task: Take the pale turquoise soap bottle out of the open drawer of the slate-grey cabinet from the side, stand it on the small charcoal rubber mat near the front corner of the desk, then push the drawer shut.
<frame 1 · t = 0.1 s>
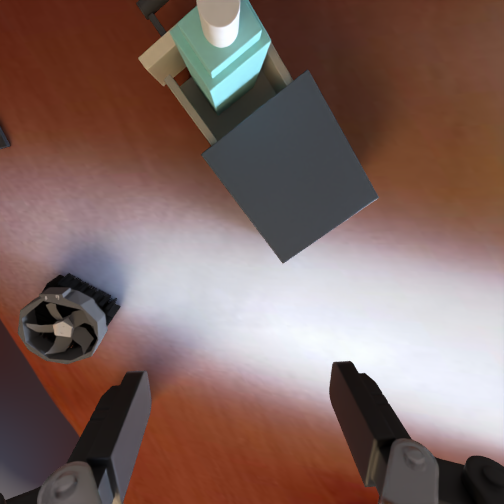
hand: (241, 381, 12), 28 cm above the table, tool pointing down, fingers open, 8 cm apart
soap bottle: (224, 84, 32), point 2 cm above the table, touching drawer
cpu cooler: (81, 308, 42), on the table
drawer: (221, 74, 29), point 4 cm above the table, slide at 8.5 cm, touching soap bottle
cabinet: (280, 171, 37), on the table
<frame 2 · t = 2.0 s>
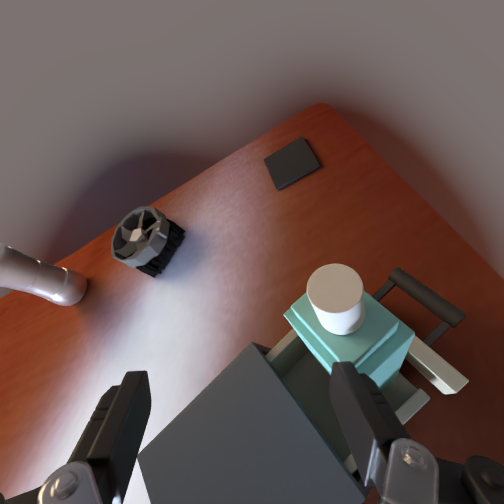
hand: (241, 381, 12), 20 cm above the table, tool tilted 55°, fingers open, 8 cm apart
soap bottle: (355, 370, 26), point 2 cm above the table, tilted 8°, touching drawer, gripper
mat: (290, 164, 44), on the table
cpu cooler: (159, 247, 49), on the table
drawer: (355, 364, 24), point 4 cm above the table, slide at 8.6 cm, touching soap bottle
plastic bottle: (81, 291, 54), on the table
cabinet: (273, 455, 28), on the table
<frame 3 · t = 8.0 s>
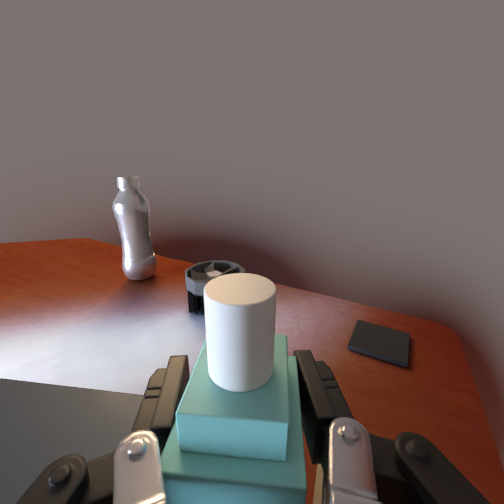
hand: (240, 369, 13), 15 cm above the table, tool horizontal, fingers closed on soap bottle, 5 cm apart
mat: (379, 342, 38), on the table
cpu cooler: (216, 301, 49), on the table
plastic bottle: (141, 278, 58), on the table
when the fingers open (14 cm above the table, at t = 18.2 s): soap bottle stays where it is, resting on mat.
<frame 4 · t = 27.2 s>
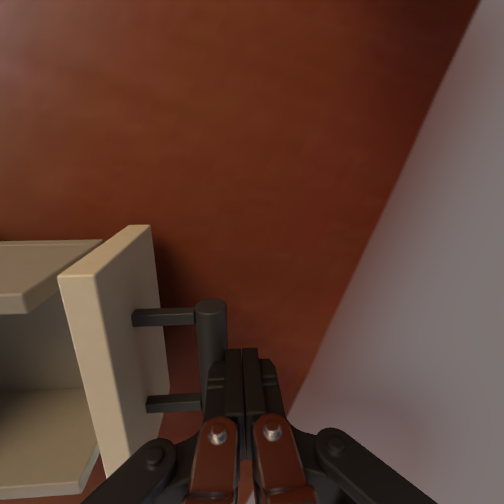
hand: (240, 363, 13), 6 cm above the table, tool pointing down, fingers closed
drawer: (47, 356, 14), point 4 cm above the table, slide at 8.2 cm, touching gripper
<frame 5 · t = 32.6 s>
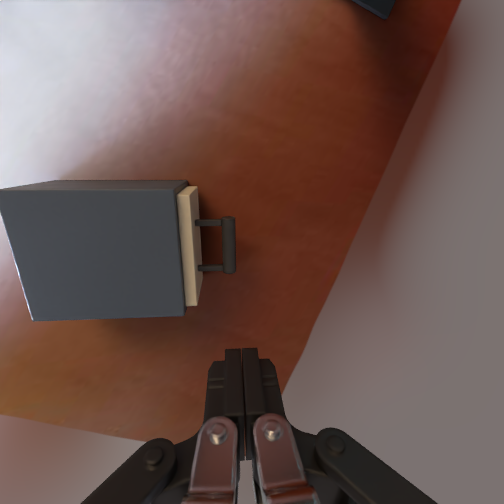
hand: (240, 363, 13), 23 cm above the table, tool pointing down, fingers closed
drawer: (153, 244, 30), point 4 cm above the table, slide at 0.0 cm
cabinet: (129, 233, 34), on the table
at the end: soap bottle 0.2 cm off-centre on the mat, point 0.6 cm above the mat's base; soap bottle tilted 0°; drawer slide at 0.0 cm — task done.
